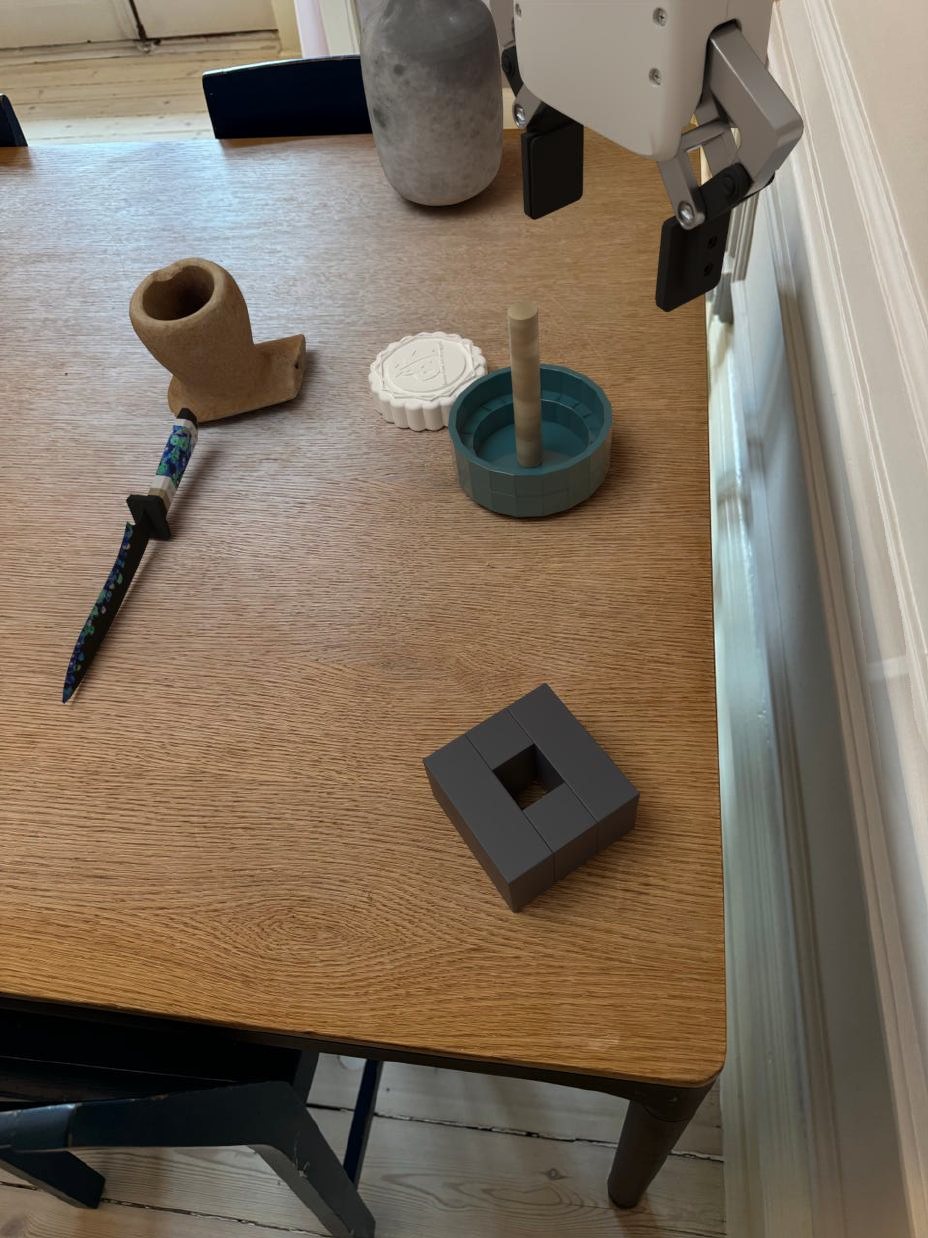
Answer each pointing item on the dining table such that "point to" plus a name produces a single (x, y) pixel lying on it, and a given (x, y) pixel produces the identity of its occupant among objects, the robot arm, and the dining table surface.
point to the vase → (434, 96)
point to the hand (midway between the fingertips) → (616, 249)
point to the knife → (135, 545)
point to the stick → (526, 381)
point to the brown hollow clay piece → (212, 342)
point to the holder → (553, 825)
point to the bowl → (568, 443)
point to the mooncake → (424, 378)
